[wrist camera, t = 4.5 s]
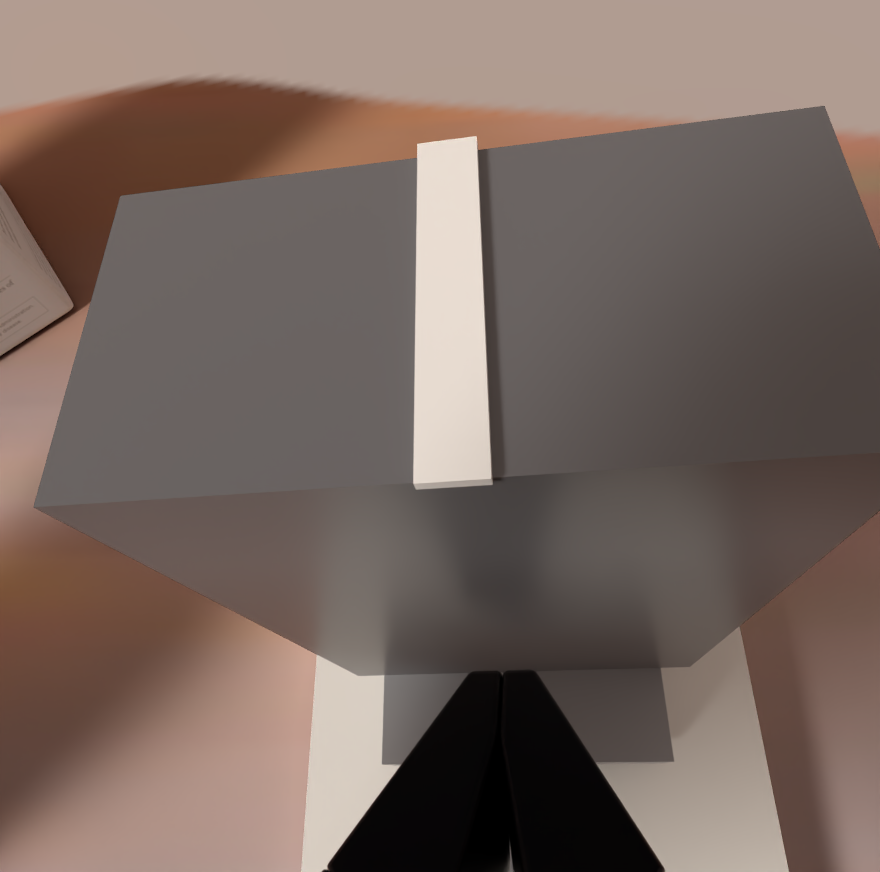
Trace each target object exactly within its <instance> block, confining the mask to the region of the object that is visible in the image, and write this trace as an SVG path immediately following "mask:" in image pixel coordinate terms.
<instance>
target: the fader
mask: <svg viewBox="0 0 880 872" xmlns="http://www.w3.org/2000/svg"><path fill="white" fill-rule="evenodd" d="M34 508H36V509H38V510H40V511H42V512H43V513H45V514H47V515H49V516H51V517H53V518H55V519H57V520H59V521H61V522H63V523H65V524H67V525H68V526H70V527H72V528H74V529H76V530H78V531H80V532H82V533H84V534H86V535H88V536H90V537H92V538H94V539H95V540H97V541H99V542H101V543H103V544H105V545H107V546H109V547H111V548H113V549H115V550H117V551H119V552H120V553H122V554H124V555H126V556H128V557H130V558H132V559H134V560H136V561H138V562H140V563H142V564H144V565H145V566H147V567H149V568H151V569H153V570H155V571H157V572H159V573H161V574H163V575H165V576H167V577H169V578H171V579H172V580H174V581H176V582H178V583H180V584H182V585H184V586H186V587H188V588H190V589H192V590H194V591H196V592H197V593H199V594H201V595H203V596H205V597H207V598H209V599H211V600H213V601H215V602H217V603H219V604H221V605H222V606H224V607H226V608H228V609H230V610H232V611H234V612H236V613H238V614H240V615H242V616H244V617H246V618H248V619H249V620H251V621H253V622H255V623H257V624H259V625H261V626H263V627H265V628H267V629H269V630H271V631H273V632H274V633H276V634H278V635H280V636H282V637H284V638H286V639H288V640H290V641H292V642H294V643H296V644H298V645H299V646H301V647H303V648H305V649H307V650H309V651H311V652H313V653H315V654H317V655H319V656H321V657H323V658H325V659H326V660H328V661H330V662H332V663H334V664H336V665H338V666H340V667H342V668H344V669H346V670H348V671H350V672H351V673H353V674H355V675H357V676H377V675H384V703H383V737H382V765H394V766H400V765H401V764H402V763H403V761H404V760H405V759H406V757H407V756H408V755H409V753H410V752H411V750H412V749H413V748H414V746H415V745H416V744H417V742H418V741H419V740H420V738H421V737H422V736H423V734H424V733H425V732H426V730H427V729H428V727H429V726H430V725H431V723H432V722H433V721H434V719H435V718H436V717H437V715H438V714H439V713H440V711H441V710H442V709H443V707H444V706H445V704H446V703H447V702H448V700H449V699H450V698H451V696H452V695H453V694H454V692H455V691H456V690H457V688H458V687H459V686H460V684H461V683H462V681H463V680H464V679H465V677H466V676H467V675H468V674H469V673H470V672H472V671H491V670H497V671H499V672H501V674H502V676H503V674H504V672H505V671H507V670H528V669H531V670H534V671H536V672H537V674H538V675H539V676H540V678H541V680H542V681H543V683H544V684H545V686H546V687H547V689H548V690H549V692H550V693H551V695H552V696H553V698H554V700H555V701H556V703H557V704H558V706H559V707H560V709H561V710H562V712H563V713H564V715H565V716H566V718H567V719H568V721H569V723H570V724H571V726H572V727H573V729H574V730H575V732H576V733H577V735H578V736H579V738H580V739H581V741H582V742H583V744H584V746H585V747H586V749H587V750H588V752H589V753H590V755H591V756H592V758H593V759H594V761H595V762H596V764H656V763H669V762H674V757H673V750H672V743H671V736H670V729H669V722H668V715H667V708H666V701H665V695H664V688H663V681H662V674H661V668H672V667H691V666H692V665H693V664H694V663H695V662H697V661H698V660H699V659H700V658H701V657H703V656H704V655H705V654H706V653H708V652H709V651H710V650H711V649H712V648H714V647H715V646H716V645H717V644H718V643H720V642H721V641H722V640H723V639H725V638H726V637H727V636H728V635H729V634H731V633H732V632H733V631H734V630H735V629H737V628H738V627H739V626H740V625H742V624H743V623H744V622H745V621H746V620H748V619H749V618H750V617H751V616H752V615H754V614H755V613H756V612H757V611H759V610H760V609H761V608H762V607H763V606H765V605H766V604H767V603H768V602H769V601H771V600H772V599H773V598H774V597H776V596H777V595H778V594H779V593H780V592H782V591H783V590H784V589H785V588H786V587H788V586H789V585H790V584H791V583H793V582H794V581H795V580H796V579H797V578H799V577H800V576H801V575H802V574H803V573H805V572H806V571H807V570H808V569H810V568H811V567H812V566H813V565H814V564H816V563H817V562H818V561H819V560H820V559H822V558H823V557H824V556H825V555H827V554H828V553H829V552H830V551H831V550H833V549H834V548H835V547H836V546H837V545H839V544H840V543H841V542H842V541H844V540H845V539H846V538H847V537H848V536H850V535H851V534H852V533H853V532H854V531H856V530H857V529H858V528H859V527H861V526H862V525H863V524H864V523H865V522H867V521H868V520H869V519H870V518H871V517H873V516H874V515H875V514H876V513H878V512H879V511H880V249H879V246H878V243H877V241H876V238H875V236H874V233H873V230H872V228H871V225H870V223H869V220H868V218H867V215H866V212H865V210H864V207H863V205H862V202H861V199H860V197H859V194H858V192H857V189H856V186H855V184H854V181H853V179H852V176H851V173H850V171H849V168H848V166H847V163H846V160H845V158H844V155H843V153H842V150H841V148H840V145H839V142H838V140H837V137H836V135H835V132H834V129H833V127H832V124H831V122H830V120H829V116H828V114H827V111H826V109H825V106H820V107H813V108H804V109H797V110H788V111H780V112H773V113H765V114H757V115H749V116H742V117H734V118H726V119H718V120H710V121H702V122H694V123H687V124H679V125H671V126H663V127H655V128H647V129H640V130H632V131H624V132H616V133H608V134H600V135H593V136H585V137H577V138H569V139H561V140H553V141H546V142H538V143H530V144H522V145H514V146H507V147H499V148H491V149H483V150H478V144H477V136H474V137H466V138H459V139H451V140H443V141H436V142H428V143H420V144H417V158H413V159H405V160H397V161H389V162H381V163H373V164H366V165H358V166H350V167H342V168H334V169H327V170H319V171H311V172H303V173H295V174H287V175H280V176H272V177H264V178H256V179H248V180H240V181H233V182H225V183H217V184H209V185H201V186H193V187H186V188H178V189H170V190H162V191H154V192H147V193H139V194H131V195H123V196H120V199H119V203H118V206H117V210H116V214H115V217H114V221H113V224H112V228H111V231H110V235H109V239H108V242H107V246H106V249H105V253H104V256H103V260H102V264H101V267H100V271H99V274H98V278H97V282H96V285H95V289H94V292H93V296H92V299H91V303H90V307H89V310H88V314H87V317H86V321H85V324H84V328H83V332H82V335H81V339H80V342H79V346H78V350H77V353H76V357H75V360H74V364H73V367H72V371H71V375H70V378H69V382H68V385H67V389H66V392H65V396H64V400H63V403H62V407H61V410H60V414H59V417H58V421H57V425H56V428H55V432H54V435H53V439H52V443H51V446H50V450H49V453H48V457H47V460H46V464H45V468H44V471H43V475H42V478H41V482H40V485H39V489H38V493H37V496H36V500H35V503H34Z"/></svg>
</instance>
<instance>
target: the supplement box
mask: <svg viewBox="0 0 880 872" xmlns="http://www.w3.org/2000/svg"><path fill="white" fill-rule="evenodd" d="M72 308H73V303H72V301H71V299H70V297H69V295H68V294H67V292H66V290H65V289H64V287H63V285H62V284H61V282H60V280H59V279H58V277H57V275H56V274H55V272H54V271H53V269H52V267H51V266H50V264H49V262H48V261H47V259H46V257H45V256H44V254H43V253H42V251H41V249H40V248H39V246H38V244H37V243H36V241H35V240H34V238H33V236H32V235H31V233H30V231H29V230H28V228H27V226H26V225H25V223H24V222H23V220H22V218H21V217H20V215H19V213H18V212H17V210H16V208H15V207H14V205H13V203H12V202H11V200H10V198H9V197H8V195H7V193H6V192H5V190H4V189H3V187H2V186H1V184H0V356H1V355H2V354H4V353H5V352H7V351H8V350H10V349H12V348H13V347H15V346H16V345H18V344H19V343H21V342H22V341H24V340H25V339H27V338H29V337H30V336H32V335H33V334H35V333H36V332H38V331H39V330H41V329H42V328H44V327H45V326H47V325H49V324H50V323H52V322H53V321H55V320H56V319H58V318H59V317H61V316H62V315H64V314H65V313H67V312H68V311H70V310H71V309H72Z"/></svg>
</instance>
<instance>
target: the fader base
mask: <svg viewBox="0 0 880 872" xmlns="http://www.w3.org/2000/svg"><path fill="white" fill-rule="evenodd" d="M661 674H662V681H663V688H664V695H665V701H666V708H667V715H668V722H669V729H670V736H671V743H672V750H673V757H674V762H669V763H656V764H597V765H598V767H599V769H600V770H601V772H602V773H603V775H604V776H605V778H606V779H607V781H608V782H609V784H610V785H611V787H612V788H613V790H614V792H615V793H616V795H617V796H618V798H619V799H620V801H621V802H622V804H623V805H624V807H625V808H626V810H627V811H628V813H629V815H630V816H631V818H632V819H633V821H634V822H635V824H636V825H637V827H638V828H639V830H640V831H641V833H642V834H643V836H644V838H645V839H646V841H647V842H648V844H649V845H650V847H651V848H652V850H653V851H654V853H655V854H656V856H657V857H658V859H659V861H660V862H661V864H662V865H663V867H664V869H665V872H789V870H788V865H787V860H786V855H785V850H784V845H783V840H782V835H781V830H780V825H779V820H778V815H777V810H776V805H775V800H774V795H773V790H772V785H771V780H770V775H769V770H768V765H767V760H766V755H765V750H764V745H763V740H762V735H761V730H760V725H759V720H758V715H757V710H756V705H755V700H754V695H753V690H752V685H751V680H750V675H749V670H748V665H747V660H746V655H745V650H744V645H743V640H742V635H741V630H740V626H739V627H738V628H737V629H735V630H734V631H733V632H732V633H731V634H729V635H728V636H727V637H726V638H725V639H723V640H722V641H721V642H720V643H718V644H717V645H716V646H715V647H714V648H712V649H711V650H710V651H709V652H708V653H706V654H705V655H704V656H703V657H701V658H700V659H699V660H698V661H697V662H695V663H694V664H693V665H692V666H691V667H672V668H661ZM383 703H384V675H377V676H357V675H355V674H353V673H351V672H350V671H348V670H346V669H344V668H342V667H340V666H338V665H336V664H334V663H332V662H330V661H328V660H326V659H325V658H323V657H321V656H319V655H317V661H316V675H315V688H314V702H313V716H312V730H311V744H310V757H309V771H308V785H307V799H306V812H305V826H304V840H303V854H302V868H301V872H322V871H323V870H324V869H327V865H328V863H329V861H330V860H331V859H332V857H333V856H334V855H335V853H336V852H337V851H338V849H339V848H340V847H341V845H342V844H343V843H344V841H345V840H346V838H347V837H348V836H349V834H350V833H351V832H352V830H353V829H354V828H355V826H356V825H357V824H358V822H359V821H360V820H361V818H362V817H363V815H364V814H365V813H366V811H367V810H368V809H369V807H370V806H371V805H372V803H373V802H374V801H375V799H376V798H377V797H378V795H379V794H380V792H381V791H382V790H383V788H384V787H385V786H386V784H387V783H388V782H389V780H390V779H391V778H392V776H393V775H394V774H395V772H396V771H397V769H398V768H399V767H400V766H394V765H382V737H383ZM327 870H328V869H327ZM510 872H513V866H512V856H511V852H510Z"/></svg>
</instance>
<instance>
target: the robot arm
mask: <svg viewBox="0 0 880 872" xmlns="http://www.w3.org/2000/svg"><path fill="white" fill-rule="evenodd" d="M510 852H511V856H512V866H513V872H665V869H664V867H663V865H662V864H661V862H660V861H659V859H658V857H657V856H656V854H655V853H654V851H653V850H652V848H651V847H650V845H649V844H648V842H647V841H646V839H645V838H644V836H643V834H642V833H641V831H640V830H639V828H638V827H637V825H636V824H635V822H634V821H633V819H632V818H631V816H630V815H629V813H628V811H627V810H626V808H625V807H624V805H623V804H622V802H621V801H620V799H619V798H618V796H617V795H616V793H615V792H614V790H613V788H612V787H611V785H610V784H609V782H608V781H607V779H606V778H605V776H604V775H603V773H602V772H601V770H600V769H599V767H598V765H597V764H596V762H595V761H594V759H593V758H592V756H591V755H590V753H589V752H588V750H587V749H586V747H585V746H584V744H583V742H582V741H581V739H580V738H579V736H578V735H577V733H576V732H575V730H574V729H573V727H572V726H571V724H570V723H569V721H568V719H567V718H566V716H565V715H564V713H563V712H562V710H561V709H560V707H559V706H558V704H557V703H556V701H555V700H554V698H553V696H552V695H551V693H550V692H549V690H548V689H547V687H546V686H545V684H544V683H543V681H542V680H541V678H540V676H539V675H538V674H537V672H536V671H534V670H531V669H528V670H507V671H505V672H504V674H503V676H502V674H501V672H499V671H497V670H491V671H472V672H470V673H469V674H468V675H467V676H466V677H465V679H464V680H463V681H462V683H461V684H460V686H459V687H458V688H457V690H456V691H455V692H454V694H453V695H452V696H451V698H450V699H449V700H448V702H447V703H446V704H445V706H444V707H443V709H442V710H441V711H440V713H439V714H438V715H437V717H436V718H435V719H434V721H433V722H432V723H431V725H430V726H429V727H428V729H427V730H426V732H425V733H424V734H423V736H422V737H421V738H420V740H419V741H418V742H417V744H416V745H415V746H414V748H413V749H412V750H411V752H410V753H409V755H408V756H407V757H406V759H405V760H404V761H403V763H402V764H401V765H400V767H399V768H398V769H397V771H396V772H395V774H394V775H393V776H392V778H391V779H390V780H389V782H388V783H387V784H386V786H385V787H384V788H383V790H382V791H381V792H380V794H379V795H378V797H377V798H376V799H375V801H374V802H373V803H372V805H371V806H370V807H369V809H368V810H367V811H366V813H365V814H364V815H363V817H362V818H361V820H360V821H359V822H358V824H357V825H356V826H355V828H354V829H353V830H352V832H351V833H350V834H349V836H348V837H347V838H346V840H345V841H344V843H343V844H342V845H341V847H340V848H339V849H338V851H337V852H336V853H335V855H334V856H333V857H332V859H331V860H330V861H329V863H328V865H327V869H328V870H327V869H324V870H323V871H322V872H510Z"/></svg>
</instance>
